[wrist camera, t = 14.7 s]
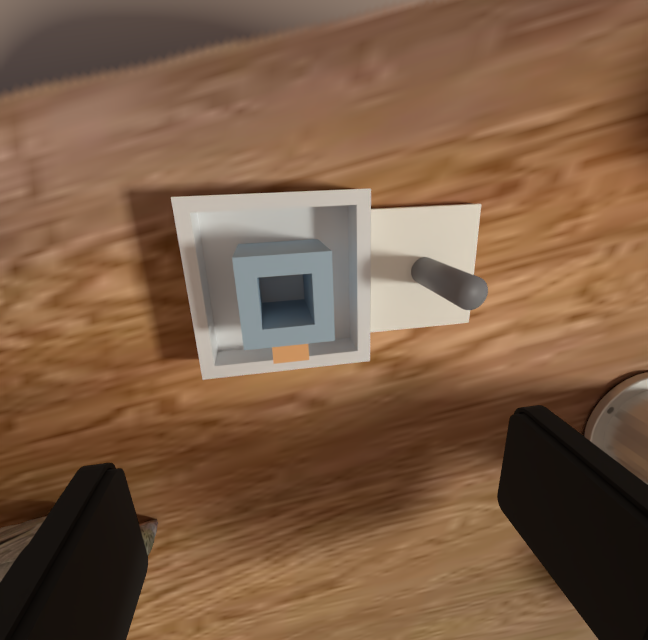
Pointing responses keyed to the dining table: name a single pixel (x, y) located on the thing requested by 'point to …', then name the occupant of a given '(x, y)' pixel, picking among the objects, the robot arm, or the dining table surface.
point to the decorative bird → (11, 540)
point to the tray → (272, 226)
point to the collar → (285, 316)
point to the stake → (424, 266)
